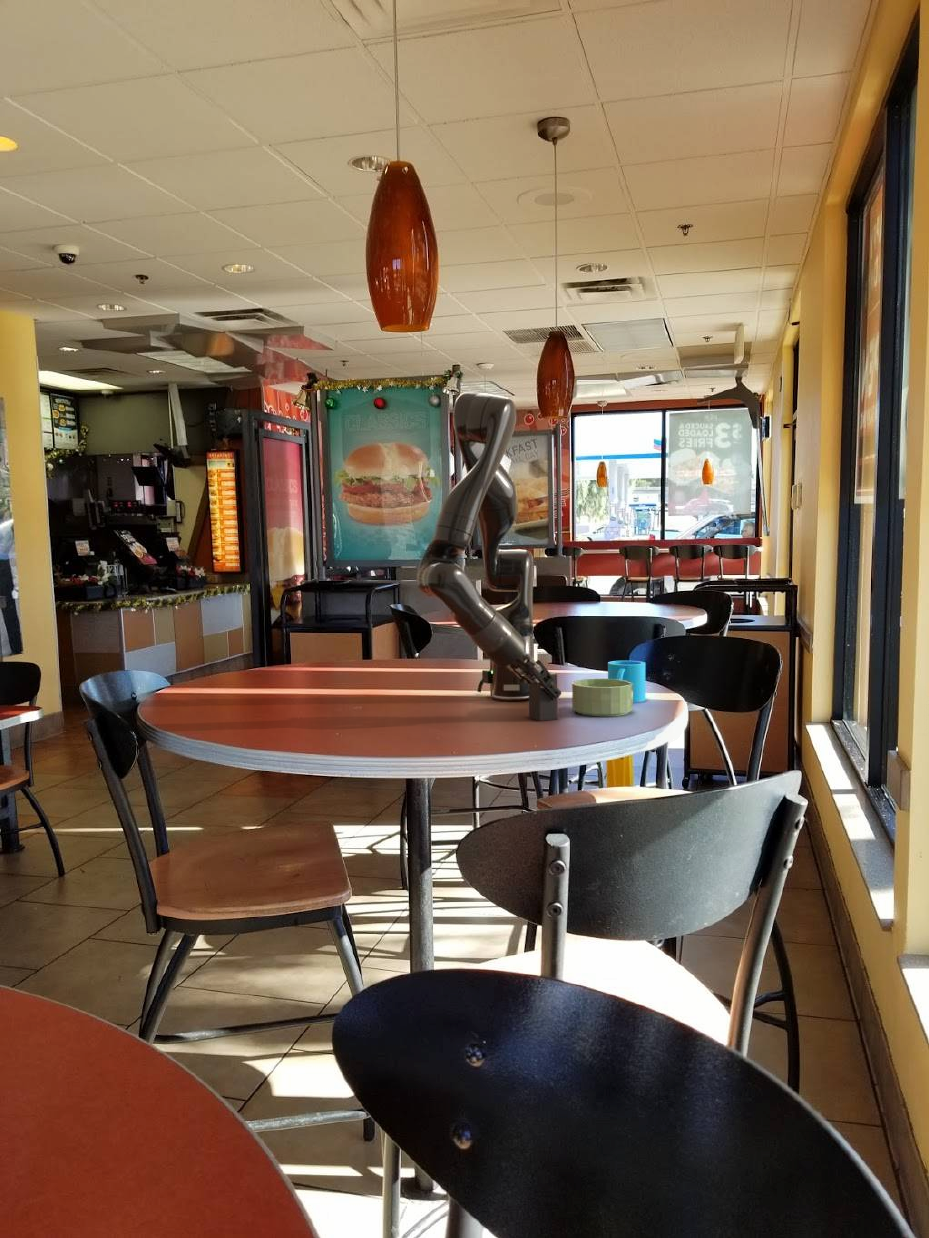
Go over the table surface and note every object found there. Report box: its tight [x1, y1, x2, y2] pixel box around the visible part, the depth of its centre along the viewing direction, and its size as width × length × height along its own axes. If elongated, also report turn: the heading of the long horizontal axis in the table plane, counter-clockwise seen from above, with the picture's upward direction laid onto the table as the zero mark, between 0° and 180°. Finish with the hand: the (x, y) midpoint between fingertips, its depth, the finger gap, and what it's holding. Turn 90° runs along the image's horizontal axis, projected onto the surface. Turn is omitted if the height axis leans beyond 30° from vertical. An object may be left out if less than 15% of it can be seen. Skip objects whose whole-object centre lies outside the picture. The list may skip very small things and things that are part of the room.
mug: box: [607, 660, 646, 704], centre depth 202 cm, size 12×8×8 cm
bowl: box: [571, 678, 634, 718], centre depth 190 cm, size 12×12×6 cm
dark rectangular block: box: [528, 671, 558, 722], centre depth 183 cm, size 4×4×9 cm
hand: (551, 694), depth 184 cm, fingers closed on dark rectangular block, 4 cm apart
